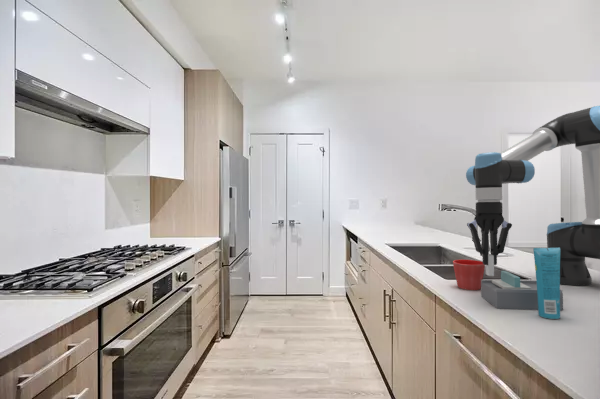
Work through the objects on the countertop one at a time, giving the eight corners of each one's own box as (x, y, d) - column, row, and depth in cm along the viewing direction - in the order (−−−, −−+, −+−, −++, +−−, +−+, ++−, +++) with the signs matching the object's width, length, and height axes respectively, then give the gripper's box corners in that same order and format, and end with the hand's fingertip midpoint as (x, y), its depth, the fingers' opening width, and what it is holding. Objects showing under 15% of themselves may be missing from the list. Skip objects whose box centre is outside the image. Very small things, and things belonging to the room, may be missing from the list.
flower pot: (491, 291, 122) (491, 264, 123) (461, 291, 123) (460, 264, 123) (477, 284, 133) (476, 259, 133) (448, 284, 133) (448, 259, 133)
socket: (539, 297, 113) (538, 280, 113) (563, 310, 100) (562, 290, 100) (481, 296, 116) (480, 279, 116) (497, 308, 103) (496, 289, 103)
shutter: (515, 282, 113) (515, 271, 113) (531, 290, 103) (530, 277, 103) (491, 282, 114) (491, 270, 114) (504, 289, 104) (504, 277, 104)
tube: (554, 313, 98) (552, 246, 98) (568, 318, 93) (567, 248, 93) (529, 314, 97) (528, 247, 98) (543, 320, 93) (541, 249, 93)
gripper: (505, 201, 112) (506, 273, 112) (463, 201, 114) (464, 272, 114) (516, 201, 105) (517, 278, 105) (471, 201, 107) (472, 277, 107)
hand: (489, 275), depth 109 cm, fingers closed
